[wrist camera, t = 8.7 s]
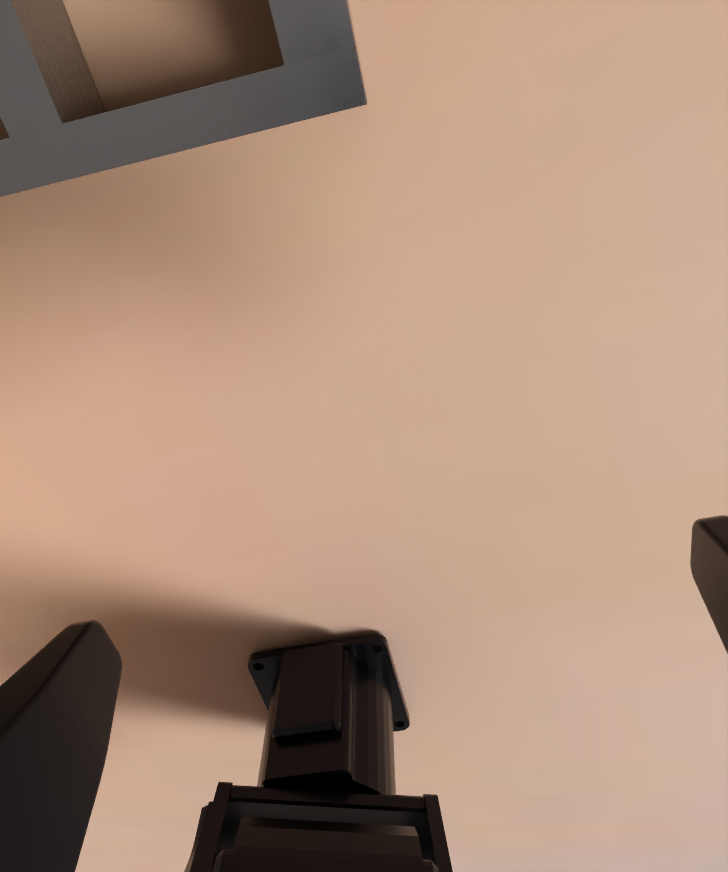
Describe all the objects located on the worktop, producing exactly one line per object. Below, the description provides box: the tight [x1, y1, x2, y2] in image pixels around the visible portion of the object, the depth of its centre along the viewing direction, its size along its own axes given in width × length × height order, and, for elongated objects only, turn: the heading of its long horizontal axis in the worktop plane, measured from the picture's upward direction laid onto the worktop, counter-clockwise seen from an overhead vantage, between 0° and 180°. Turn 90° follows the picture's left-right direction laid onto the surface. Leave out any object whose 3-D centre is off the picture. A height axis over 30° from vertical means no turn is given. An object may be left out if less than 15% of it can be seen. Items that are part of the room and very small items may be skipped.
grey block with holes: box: [0, 0, 367, 197], centre depth 15 cm, size 8×16×3 cm, turn 103°
